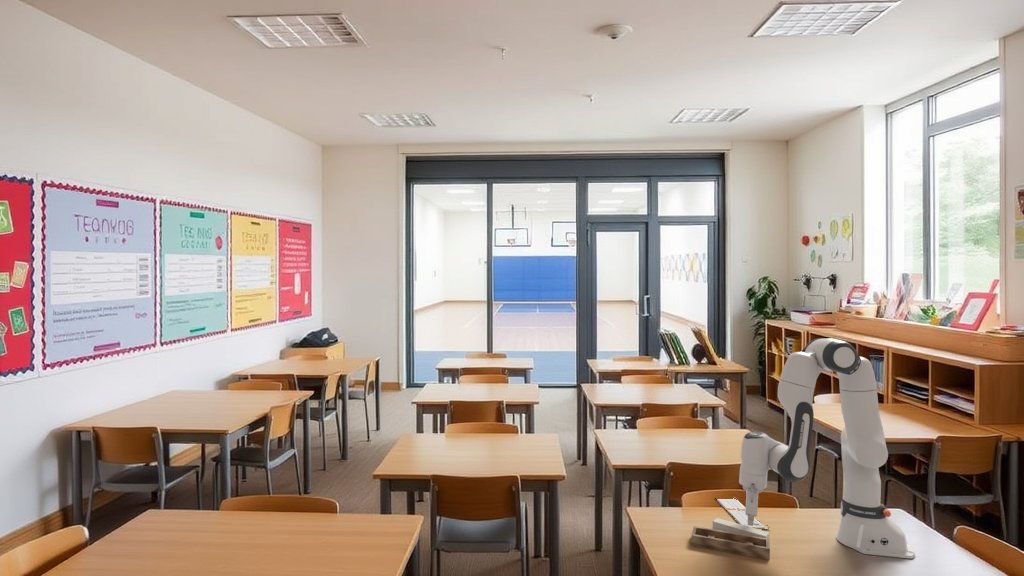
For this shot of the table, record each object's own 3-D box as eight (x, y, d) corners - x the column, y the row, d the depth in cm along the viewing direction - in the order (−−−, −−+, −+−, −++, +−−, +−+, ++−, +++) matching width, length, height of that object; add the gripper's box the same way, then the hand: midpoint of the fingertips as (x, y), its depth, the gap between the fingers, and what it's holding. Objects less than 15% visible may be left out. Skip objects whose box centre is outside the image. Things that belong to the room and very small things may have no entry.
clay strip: (769, 544, 200) (769, 532, 200) (765, 548, 197) (765, 536, 197) (716, 528, 212) (716, 517, 212) (712, 532, 209) (712, 521, 209)
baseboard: (739, 500, 241) (714, 499, 241) (739, 493, 241) (714, 493, 241) (771, 531, 211) (743, 531, 211) (772, 523, 211) (744, 523, 211)
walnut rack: (768, 549, 195) (769, 538, 195) (769, 559, 188) (769, 549, 188) (693, 536, 205) (693, 525, 204) (691, 545, 197) (691, 535, 197)
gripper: (763, 491, 192) (760, 533, 192) (762, 472, 211) (760, 511, 211) (742, 487, 194) (739, 529, 195) (743, 469, 213) (741, 507, 214)
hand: (750, 519), depth 203 cm, fingers open, 8 cm apart
